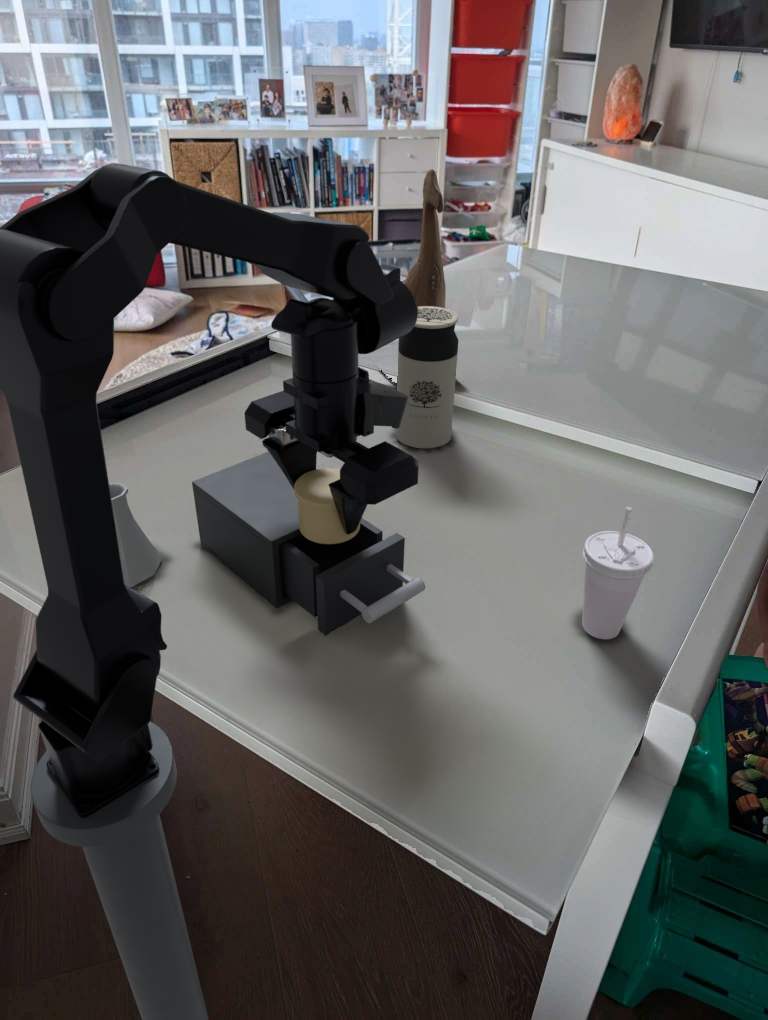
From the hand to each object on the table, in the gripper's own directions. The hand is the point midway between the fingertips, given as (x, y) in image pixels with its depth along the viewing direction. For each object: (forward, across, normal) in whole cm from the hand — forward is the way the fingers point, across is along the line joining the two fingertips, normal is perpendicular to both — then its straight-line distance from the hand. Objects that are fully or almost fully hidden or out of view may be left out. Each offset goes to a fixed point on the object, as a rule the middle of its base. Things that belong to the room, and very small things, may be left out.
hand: (329, 518), depth 74 cm
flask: (+10, +18, +14) cm, 25 cm away
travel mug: (+10, +18, -32) cm, 38 cm away
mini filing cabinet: (+10, +9, 0) cm, 13 cm away
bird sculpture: (+10, +33, -46) cm, 58 cm away
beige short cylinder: (+1, 0, 0) cm, 1 cm away
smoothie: (+10, -22, -17) cm, 29 cm away
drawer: (+9, -1, 0) cm, 9 cm away
